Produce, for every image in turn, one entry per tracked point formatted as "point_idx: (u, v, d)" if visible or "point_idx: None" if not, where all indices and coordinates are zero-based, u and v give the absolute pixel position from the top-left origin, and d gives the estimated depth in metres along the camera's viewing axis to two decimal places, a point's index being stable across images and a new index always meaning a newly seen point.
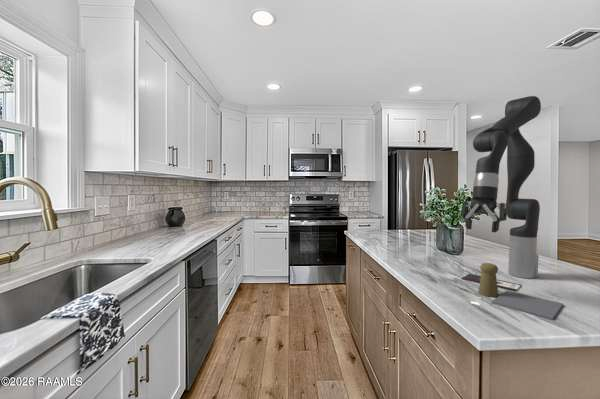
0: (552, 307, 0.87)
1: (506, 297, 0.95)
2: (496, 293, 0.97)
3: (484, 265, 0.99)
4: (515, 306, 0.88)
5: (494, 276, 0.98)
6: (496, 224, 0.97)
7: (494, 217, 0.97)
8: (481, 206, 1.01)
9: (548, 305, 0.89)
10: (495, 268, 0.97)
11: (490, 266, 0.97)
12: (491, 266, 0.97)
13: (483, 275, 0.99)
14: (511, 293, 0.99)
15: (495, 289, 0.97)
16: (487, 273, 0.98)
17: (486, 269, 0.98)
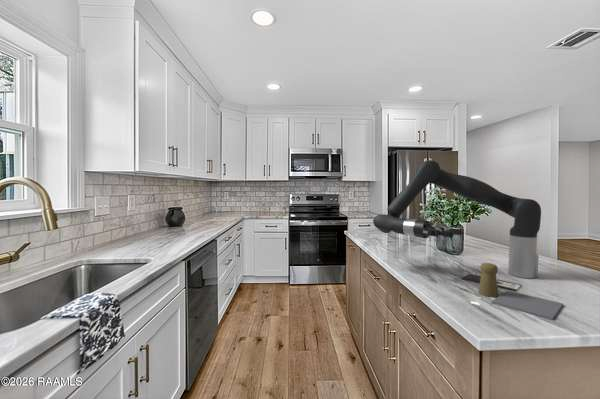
0: (552, 307, 0.87)
1: (506, 297, 0.95)
2: (496, 293, 0.97)
3: (484, 265, 0.99)
4: (515, 306, 0.88)
5: (494, 276, 0.98)
6: (444, 235, 1.06)
7: (438, 235, 1.08)
8: None
9: (548, 305, 0.89)
10: (495, 268, 0.97)
11: (490, 266, 0.97)
12: (491, 266, 0.97)
13: (483, 275, 0.99)
14: (511, 293, 0.99)
15: (495, 289, 0.97)
16: (487, 273, 0.98)
17: (486, 269, 0.98)
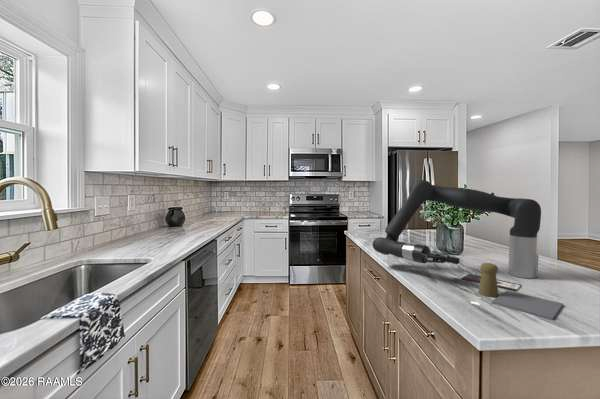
0: (552, 307, 0.87)
1: (506, 297, 0.95)
2: (496, 293, 0.97)
3: (484, 265, 0.99)
4: (515, 306, 0.88)
5: (494, 276, 0.98)
6: (449, 261, 1.09)
7: None
8: None
9: (548, 305, 0.89)
10: (495, 268, 0.97)
11: (490, 266, 0.97)
12: (491, 266, 0.97)
13: (483, 275, 0.99)
14: (511, 293, 0.99)
15: (495, 289, 0.97)
16: (487, 273, 0.98)
17: (486, 269, 0.98)
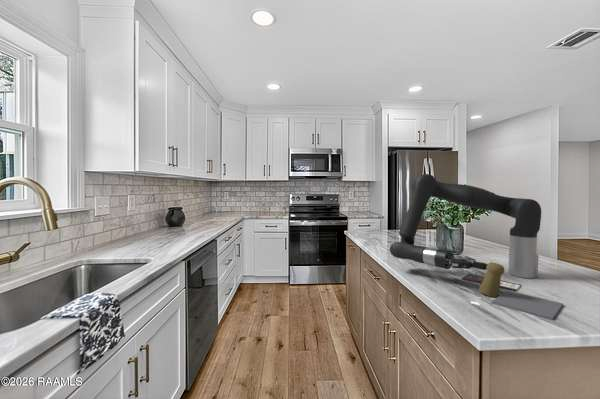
0: (552, 307, 0.87)
1: (506, 297, 0.95)
2: (497, 293, 0.97)
3: (491, 265, 0.97)
4: (515, 306, 0.88)
5: (499, 277, 0.96)
6: (476, 267, 1.01)
7: None
8: None
9: (548, 305, 0.89)
10: (502, 269, 0.95)
11: (497, 267, 0.96)
12: (498, 267, 0.96)
13: (488, 274, 0.98)
14: (511, 293, 0.99)
15: (497, 289, 0.97)
16: (492, 273, 0.97)
17: (492, 269, 0.96)
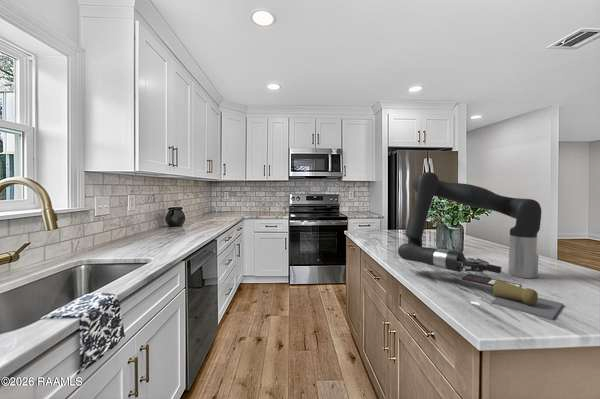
0: (552, 307, 0.87)
1: None
2: (500, 297, 0.96)
3: (531, 297, 0.87)
4: (515, 306, 0.88)
5: (520, 300, 0.91)
6: (490, 270, 0.98)
7: None
8: None
9: (548, 305, 0.89)
10: None
11: (532, 302, 0.87)
12: (532, 303, 0.88)
13: (517, 293, 0.90)
14: None
15: None
16: (521, 297, 0.90)
17: (526, 299, 0.88)
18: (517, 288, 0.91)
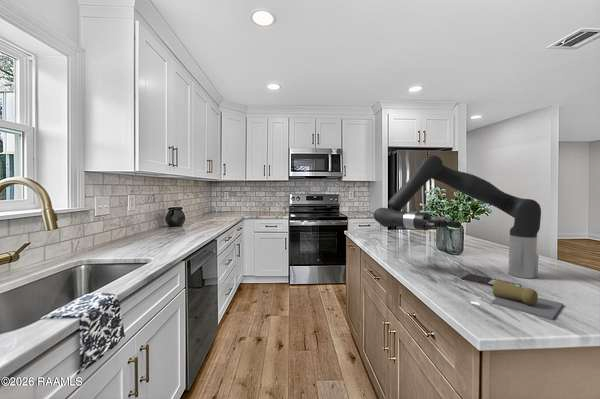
0: (552, 307, 0.87)
1: None
2: (500, 297, 0.96)
3: (531, 297, 0.87)
4: (515, 306, 0.88)
5: (520, 300, 0.91)
6: (451, 226, 1.08)
7: (445, 226, 1.10)
8: None
9: (548, 305, 0.89)
10: None
11: (532, 302, 0.87)
12: (532, 303, 0.88)
13: (517, 293, 0.90)
14: None
15: None
16: (521, 297, 0.90)
17: (526, 299, 0.88)
18: (517, 288, 0.91)
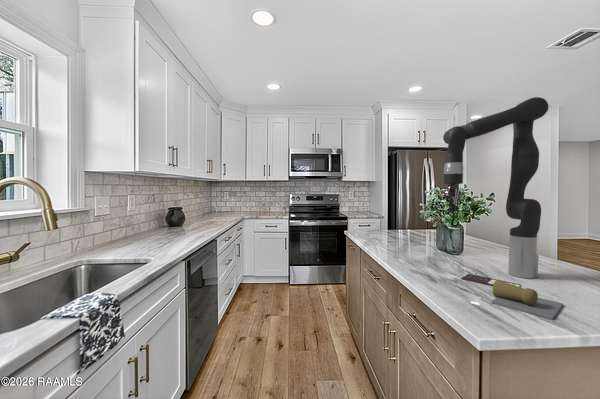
0: (552, 307, 0.87)
1: None
2: (500, 297, 0.96)
3: (531, 297, 0.87)
4: (515, 306, 0.88)
5: (520, 300, 0.91)
6: None
7: None
8: None
9: (548, 305, 0.89)
10: None
11: (532, 302, 0.87)
12: (532, 303, 0.88)
13: (517, 293, 0.90)
14: None
15: None
16: (521, 297, 0.90)
17: (526, 299, 0.88)
18: (517, 288, 0.91)
